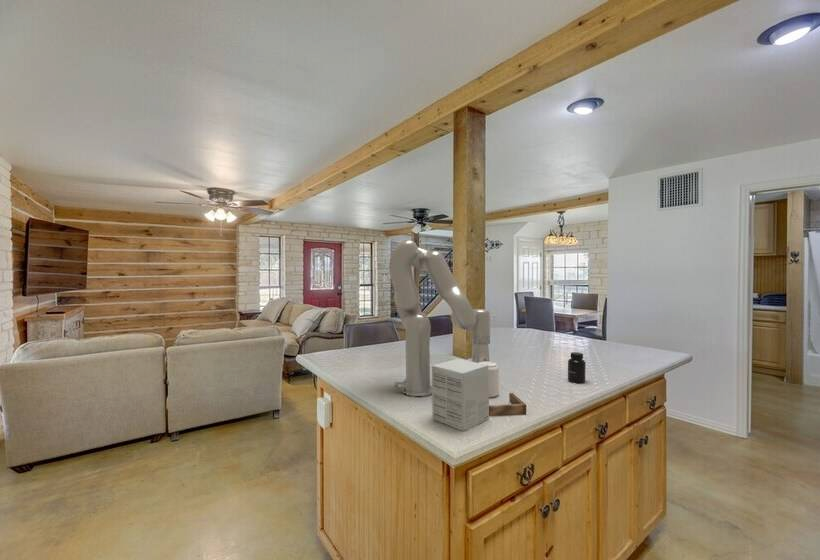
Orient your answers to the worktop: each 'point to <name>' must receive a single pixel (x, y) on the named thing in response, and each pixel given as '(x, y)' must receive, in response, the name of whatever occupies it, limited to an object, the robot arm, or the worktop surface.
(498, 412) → the bay
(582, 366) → the supplement bottle
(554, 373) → the worktop surface
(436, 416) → the supplement box
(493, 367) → the white lidded jar
